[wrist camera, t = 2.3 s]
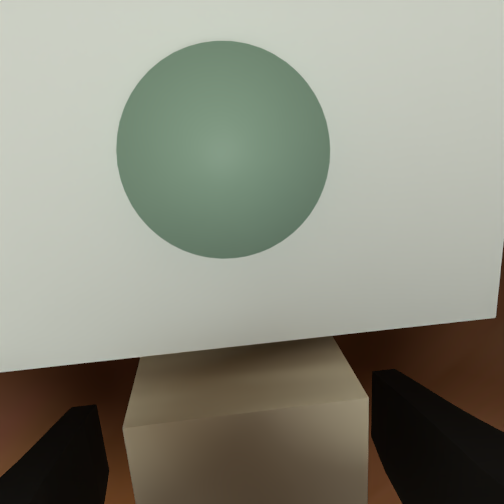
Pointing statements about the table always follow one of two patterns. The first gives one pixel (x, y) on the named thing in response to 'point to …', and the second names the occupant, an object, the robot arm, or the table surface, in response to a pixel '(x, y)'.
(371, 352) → the table surface
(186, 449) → the block
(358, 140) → the white button box
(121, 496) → the table surface
